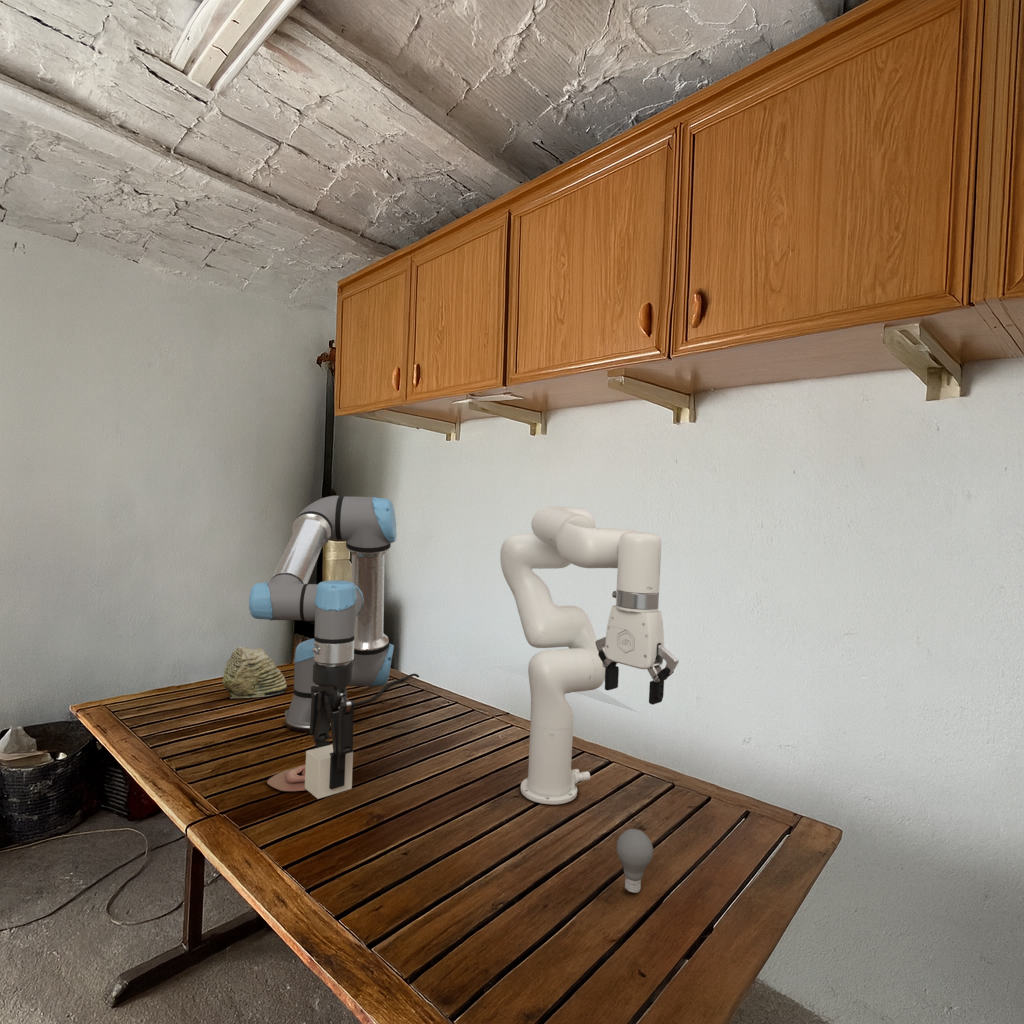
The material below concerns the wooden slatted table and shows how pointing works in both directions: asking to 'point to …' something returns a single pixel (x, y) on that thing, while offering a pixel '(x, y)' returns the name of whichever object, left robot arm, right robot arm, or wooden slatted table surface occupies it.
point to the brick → (324, 772)
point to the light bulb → (634, 857)
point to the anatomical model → (289, 780)
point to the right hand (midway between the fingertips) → (632, 695)
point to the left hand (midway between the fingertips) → (328, 780)
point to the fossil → (252, 674)
